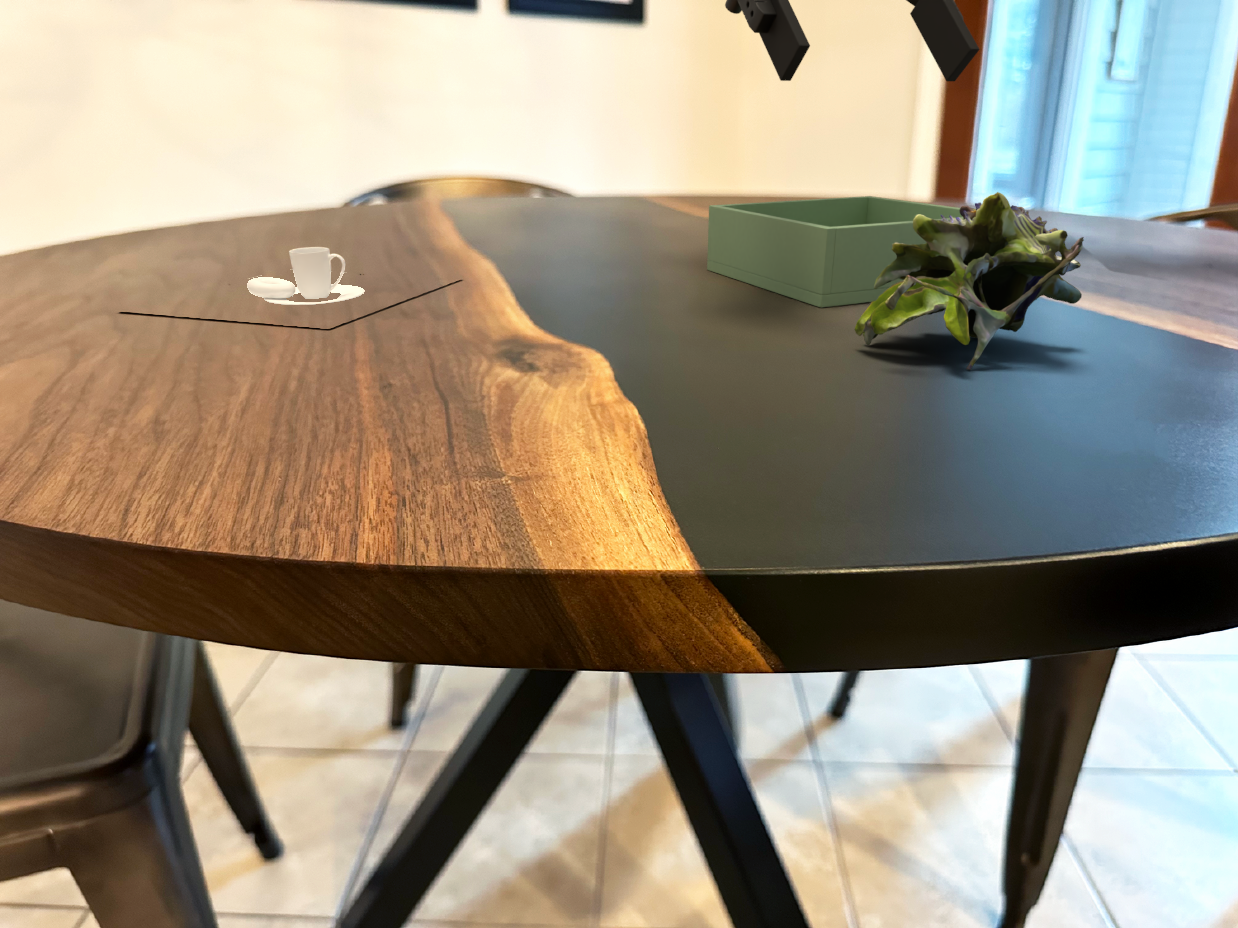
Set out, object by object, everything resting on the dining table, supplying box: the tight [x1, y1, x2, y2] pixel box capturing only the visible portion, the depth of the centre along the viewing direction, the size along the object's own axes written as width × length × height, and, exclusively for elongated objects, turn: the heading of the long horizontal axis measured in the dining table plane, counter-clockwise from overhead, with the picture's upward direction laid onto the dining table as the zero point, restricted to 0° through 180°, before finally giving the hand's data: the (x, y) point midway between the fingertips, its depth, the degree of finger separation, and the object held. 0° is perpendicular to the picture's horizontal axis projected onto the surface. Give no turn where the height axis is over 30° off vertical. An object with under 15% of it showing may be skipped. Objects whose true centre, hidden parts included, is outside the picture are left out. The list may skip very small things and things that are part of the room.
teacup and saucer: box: [247, 246, 365, 305], centre depth 69 cm, size 9×8×4 cm
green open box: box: [706, 195, 964, 309], centre depth 75 cm, size 19×19×6 cm
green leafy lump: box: [854, 191, 1085, 371], centre depth 51 cm, size 11×11×12 cm
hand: (882, 65), depth 55 cm, fingers open, 13 cm apart
